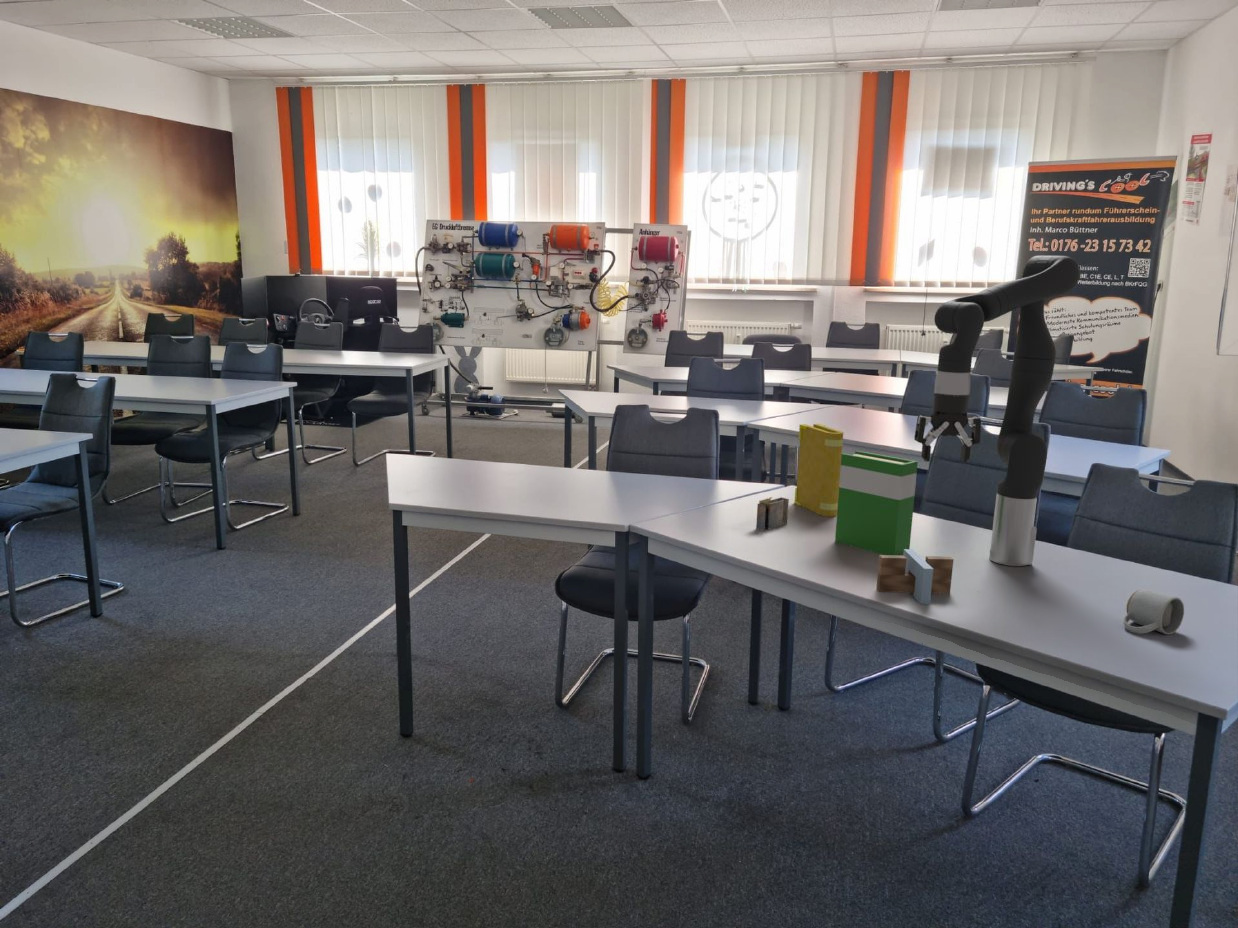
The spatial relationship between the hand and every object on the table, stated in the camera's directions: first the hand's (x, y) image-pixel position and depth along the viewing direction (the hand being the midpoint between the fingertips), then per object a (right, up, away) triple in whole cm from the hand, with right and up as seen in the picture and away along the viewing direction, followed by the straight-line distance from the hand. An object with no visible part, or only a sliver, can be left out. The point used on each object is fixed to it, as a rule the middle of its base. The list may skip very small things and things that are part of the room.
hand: (944, 461), depth 203 cm
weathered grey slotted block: (-32, -19, +47) cm, 60 cm away
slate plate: (-9, -30, -5) cm, 31 cm away
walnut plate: (-9, -29, -4) cm, 31 cm away
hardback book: (-9, -23, +29) cm, 38 cm away
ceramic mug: (+33, -35, -23) cm, 53 cm away
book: (-14, -15, +67) cm, 70 cm away
